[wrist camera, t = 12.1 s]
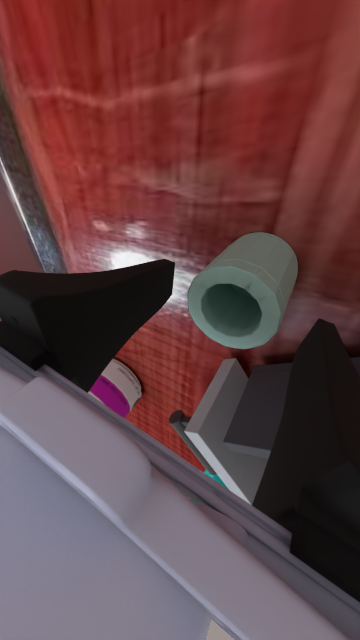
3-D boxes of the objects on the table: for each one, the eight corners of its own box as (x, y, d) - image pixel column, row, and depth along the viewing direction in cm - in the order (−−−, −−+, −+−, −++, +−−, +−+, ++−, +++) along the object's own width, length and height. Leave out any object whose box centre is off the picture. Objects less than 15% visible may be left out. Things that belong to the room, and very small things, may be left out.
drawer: (234, 441, 26) (209, 508, 21) (181, 364, 22) (137, 423, 18) (521, 491, 13) (617, 693, 8) (488, 327, 10) (614, 505, 5)
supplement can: (137, 365, 29) (24, 488, 19) (149, 403, 34) (64, 518, 24) (93, 347, 33) (-21, 442, 23) (109, 384, 38) (21, 476, 28)
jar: (299, 302, 14) (283, 355, 11) (228, 300, 17) (197, 343, 13) (299, 225, 12) (278, 263, 8) (217, 237, 14) (176, 269, 11)
